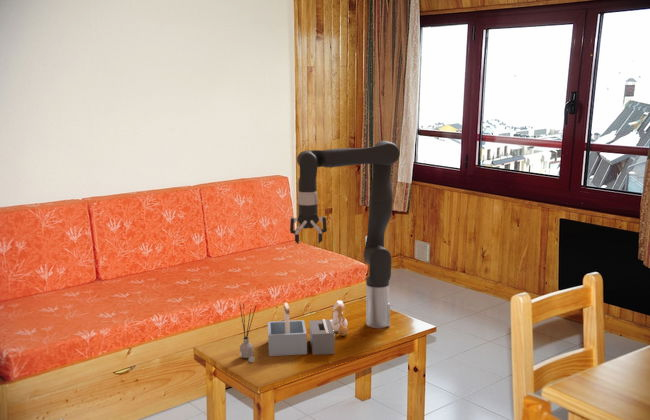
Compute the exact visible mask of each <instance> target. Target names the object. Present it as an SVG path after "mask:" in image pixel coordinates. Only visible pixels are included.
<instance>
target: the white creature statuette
mask: <svg viewBox="0 0 650 420" xmlns="http://www.w3.org/2000/svg"><path fill="white" fill-rule="evenodd" d="M340 305H341V306H342V307H343V308H345V304H344V302H343V300H339V299H338V300H336V302H335V304H333V308H332V311H333V310H335V309H336V307H337V306H340ZM343 310H344V309H342V314H344V312H343ZM337 315H339V314H338V312H337V310H336V311H334V313H333V320H332V319H329V320H330V321H331V324H332V328H333V330H334V333H335V332H338V328H339V327H340V324H339V321H340V320H339V319H338V316H337ZM342 320H343V319H342V317H341V322H340V323H341V326H343V323H344V325H345V326H346V327H347V326H348V320H347V319H346V318H345V320H344V322H343V323H342ZM347 328H348V327H347Z"/></svg>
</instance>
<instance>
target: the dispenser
mask: <svg viewBox="0 0 650 420" xmlns="http://www.w3.org/2000/svg"><path fill="white" fill-rule="evenodd" d="M330 320H331V319H325V318H322V319H321V320H320V319H319V320H318V319H317V320H309V321H308V323H309V342H310V349H311V352H312V353H311V354H312V356H317V355H319V356H321V355H335V332H334V331H333V328H332V324H331V321H330Z"/></svg>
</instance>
